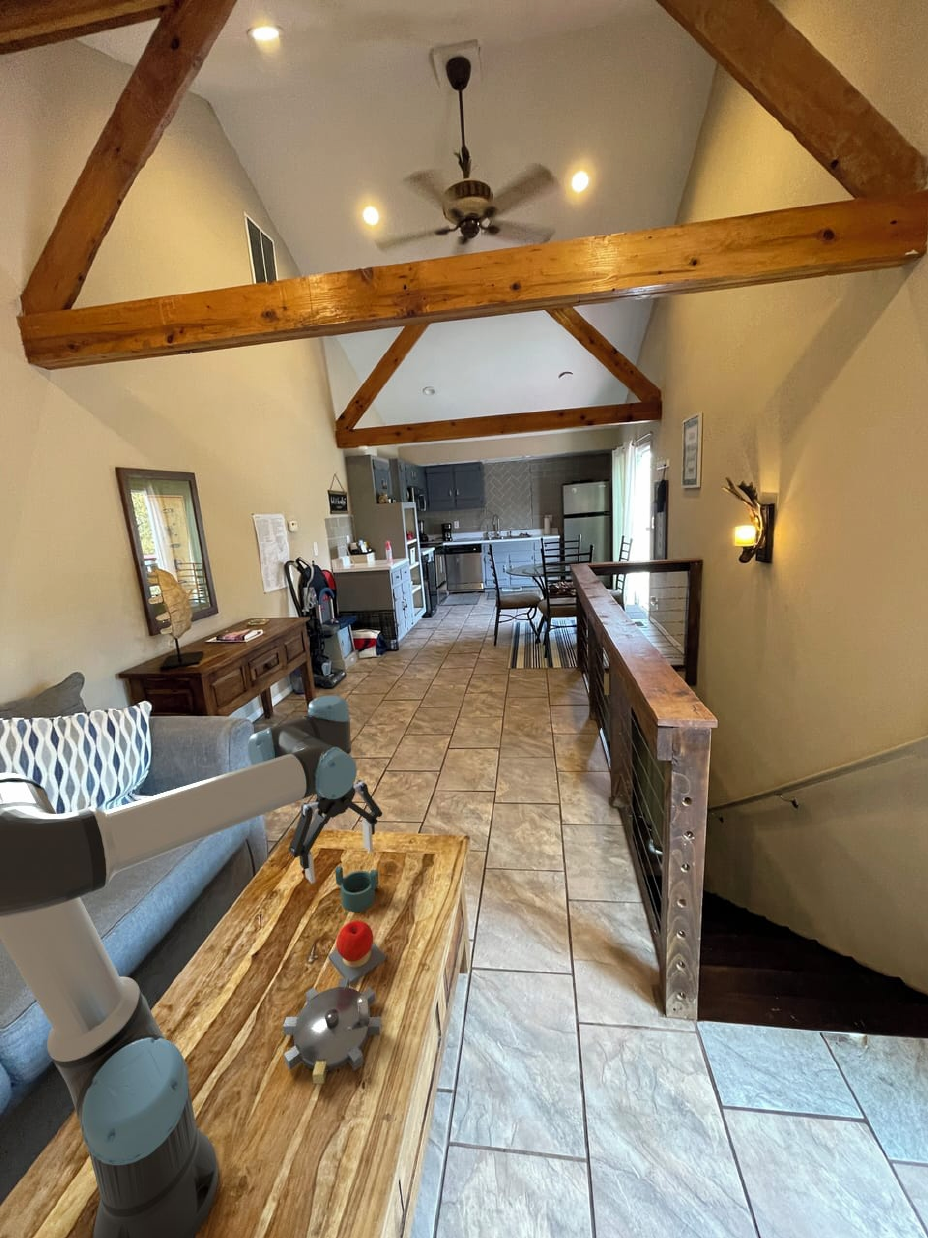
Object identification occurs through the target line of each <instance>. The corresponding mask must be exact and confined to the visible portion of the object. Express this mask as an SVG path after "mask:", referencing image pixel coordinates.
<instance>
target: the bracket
mask: <svg viewBox="0 0 928 1238" xmlns="http://www.w3.org/2000/svg"><path fill="white" fill-rule="evenodd" d="M343 868H344V867H343V866H336V867H335V869H334V873H335V882H336V885H338V886H339V887H340V895H341V896H340V897H341V906H342V908H343V909H344V910H346V912H350V913H360V912H363V911H366V910H367V909H369V908H370V907H372V906H373V904H374V902H375V899H376V889H377V887H378V885H379V872H378V869H371V870H370V871H366V870H356V871H352V872H350V873H349V874H347V875H345V876H344V869H343ZM359 889H364V890H361V891H359V892H358V891H357V892H354V891H355V890H359Z"/></svg>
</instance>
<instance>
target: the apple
mask: <svg viewBox="0 0 928 1238" xmlns="http://www.w3.org/2000/svg"><path fill="white" fill-rule="evenodd" d="M373 942H374V934H373V929H372V927H371V926H370V925H369V924H368V923H366V922H364V921H363V920H353V921H349V922H348V923H346V924H345V925H344V926H343V927H342V928H341V929H340V931H339V934H338V936H337V938H336V949H337V951H338V953H339V954H340V955H341V956H342V957H343V958H344V959H345V960H347V961H350V962H354V961H357V960H359V959H361V958H363V957H364V956H365V955H366V954H367V953H368V952H369V951H370V949H371V947H372V944H373Z"/></svg>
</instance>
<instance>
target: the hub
mask: <svg viewBox="0 0 928 1238" xmlns="http://www.w3.org/2000/svg"><path fill="white" fill-rule="evenodd" d="M338 1021H339V1016H338V1011H337V1010H336V1009H331V1010H329V1011H328V1012H327V1013H326V1015H325V1022H326V1025H327V1026H328V1027H333V1026H335V1025H336V1024H337V1023H338Z"/></svg>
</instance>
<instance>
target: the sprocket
mask: <svg viewBox="0 0 928 1238" xmlns="http://www.w3.org/2000/svg"><path fill="white" fill-rule="evenodd" d="M305 1002H306V1003H305V1005H304V1006H303V1007H302V1008H301V1010H300V1012H299V1013H298V1015H297V1016H286V1017H285V1021H284V1022H283V1025H282V1028H283V1035H284V1036H292V1038H293V1039H292V1040H293V1045H294V1046H292V1047H291V1048H290V1049H288V1051H285V1053H284V1054H283V1055H284V1063H285V1065H286V1066H287V1069H288V1070H289V1071H292V1070H293V1069H294V1068H295V1067H296V1066H298V1064H300V1063H301V1064H303V1066H305V1067H307V1068H309V1069H311V1070H313V1071H312V1079H313V1080H312V1083H313V1084H323V1085H324V1084H325V1082H326V1077H327V1074H328V1071H331V1070H334V1069H338V1068H340V1067H343V1066H344V1065H346V1064H347V1063H349V1065H350V1066H351V1068H352V1069H353V1071H357V1069H359V1068H360V1067H361V1066H362V1065H363V1064H364V1054H363V1052H362V1049H363V1048H364V1046H365V1045H366V1043H367V1041H368V1038H369V1036H380V1035H381V1030H382V1017H381V1016H371V1009H370V1006H371V1005H373V1004H374V1003H375V1002H377V998H376V992H375V991H374V989H372V987H371V986H370V987H368V988H367V989H365V990H364V991H363V992H362V993H361V992H359V991H358V990H357V989H354V988H352V987H350V985H349V978H343V977H340V978H339V979H338V984H337V986H336V987H332V988H328V989H326V990H323V991H322V992H320V993H318V991H317V989H316V988H315V987H314V986H313V987H312V988H311V989H309V990H307V991H306V992H305ZM331 1009H336V1010H337V1011H338V1016H339V1021H338V1023H337V1024H336V1025H335V1026H333V1027H328V1026H327V1025H326V1022H325V1015H326V1013H327V1012H328V1011H329V1010H331Z"/></svg>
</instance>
